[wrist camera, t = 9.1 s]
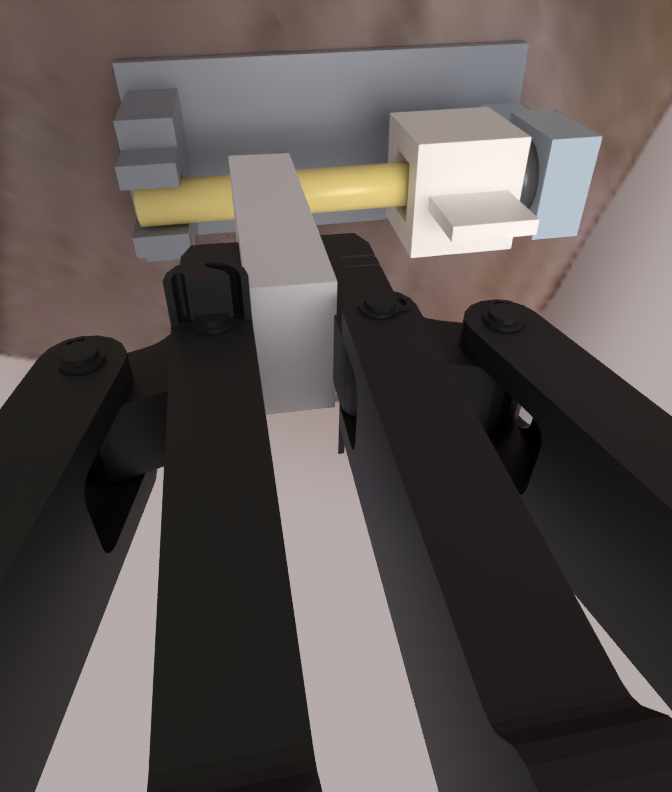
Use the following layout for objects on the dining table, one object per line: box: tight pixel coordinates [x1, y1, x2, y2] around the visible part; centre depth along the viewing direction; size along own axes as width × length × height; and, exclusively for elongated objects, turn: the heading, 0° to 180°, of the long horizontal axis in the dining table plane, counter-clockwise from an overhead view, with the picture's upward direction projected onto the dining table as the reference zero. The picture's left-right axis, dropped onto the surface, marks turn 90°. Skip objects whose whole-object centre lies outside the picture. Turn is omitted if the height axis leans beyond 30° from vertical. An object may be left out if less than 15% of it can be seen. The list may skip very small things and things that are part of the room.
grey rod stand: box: [112, 41, 602, 262], centre depth 36 cm, size 26×11×12 cm, turn 91°
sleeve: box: [386, 107, 540, 258], centre depth 33 cm, size 6×6×10 cm
